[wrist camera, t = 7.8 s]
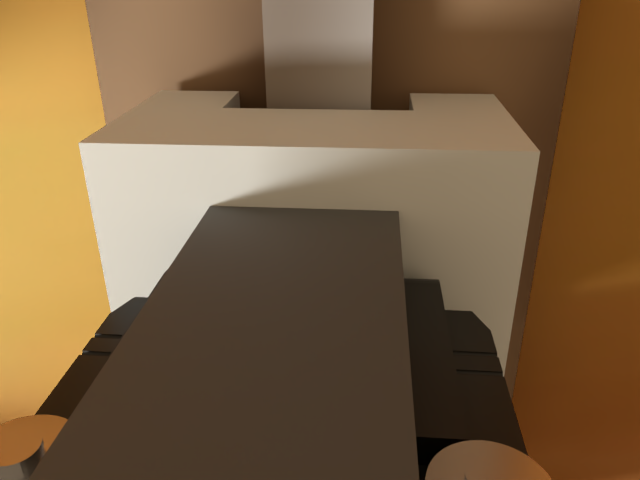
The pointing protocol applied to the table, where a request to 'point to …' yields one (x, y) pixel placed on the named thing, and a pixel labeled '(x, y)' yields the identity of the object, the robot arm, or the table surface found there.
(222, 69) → the rail board
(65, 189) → the table surface
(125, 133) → the carriage
